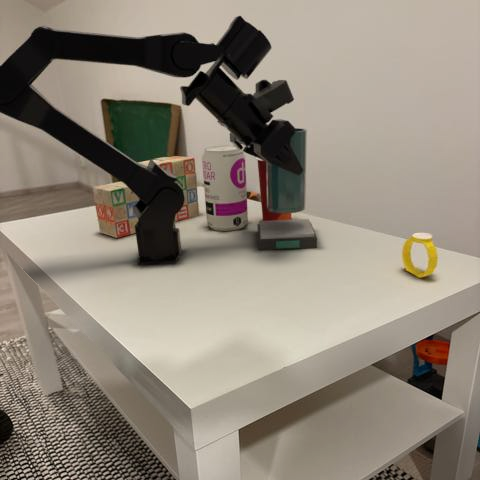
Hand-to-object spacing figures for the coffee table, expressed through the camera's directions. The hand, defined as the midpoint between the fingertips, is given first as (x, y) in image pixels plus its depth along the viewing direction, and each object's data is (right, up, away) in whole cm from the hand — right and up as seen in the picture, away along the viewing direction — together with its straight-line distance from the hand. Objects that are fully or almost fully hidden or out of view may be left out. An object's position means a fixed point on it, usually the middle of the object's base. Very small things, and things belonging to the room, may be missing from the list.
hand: (293, 169), depth 87 cm
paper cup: (-2, -6, +16) cm, 17 cm away
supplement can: (-12, -7, +16) cm, 21 cm away
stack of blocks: (-28, -6, +20) cm, 35 cm away
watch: (+17, -19, -12) cm, 28 cm away
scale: (-1, -11, +5) cm, 12 cm away
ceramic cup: (-1, -6, +3) cm, 7 cm away
